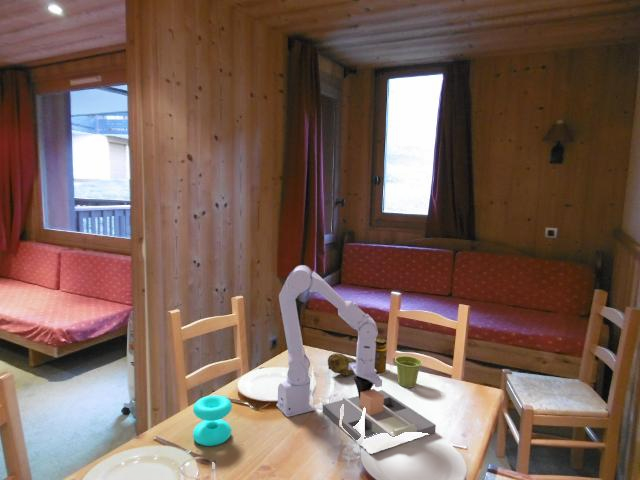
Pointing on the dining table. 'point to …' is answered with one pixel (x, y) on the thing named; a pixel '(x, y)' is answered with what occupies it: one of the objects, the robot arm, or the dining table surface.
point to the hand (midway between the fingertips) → (363, 399)
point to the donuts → (212, 420)
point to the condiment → (380, 356)
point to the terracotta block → (371, 401)
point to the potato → (340, 364)
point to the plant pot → (407, 370)
